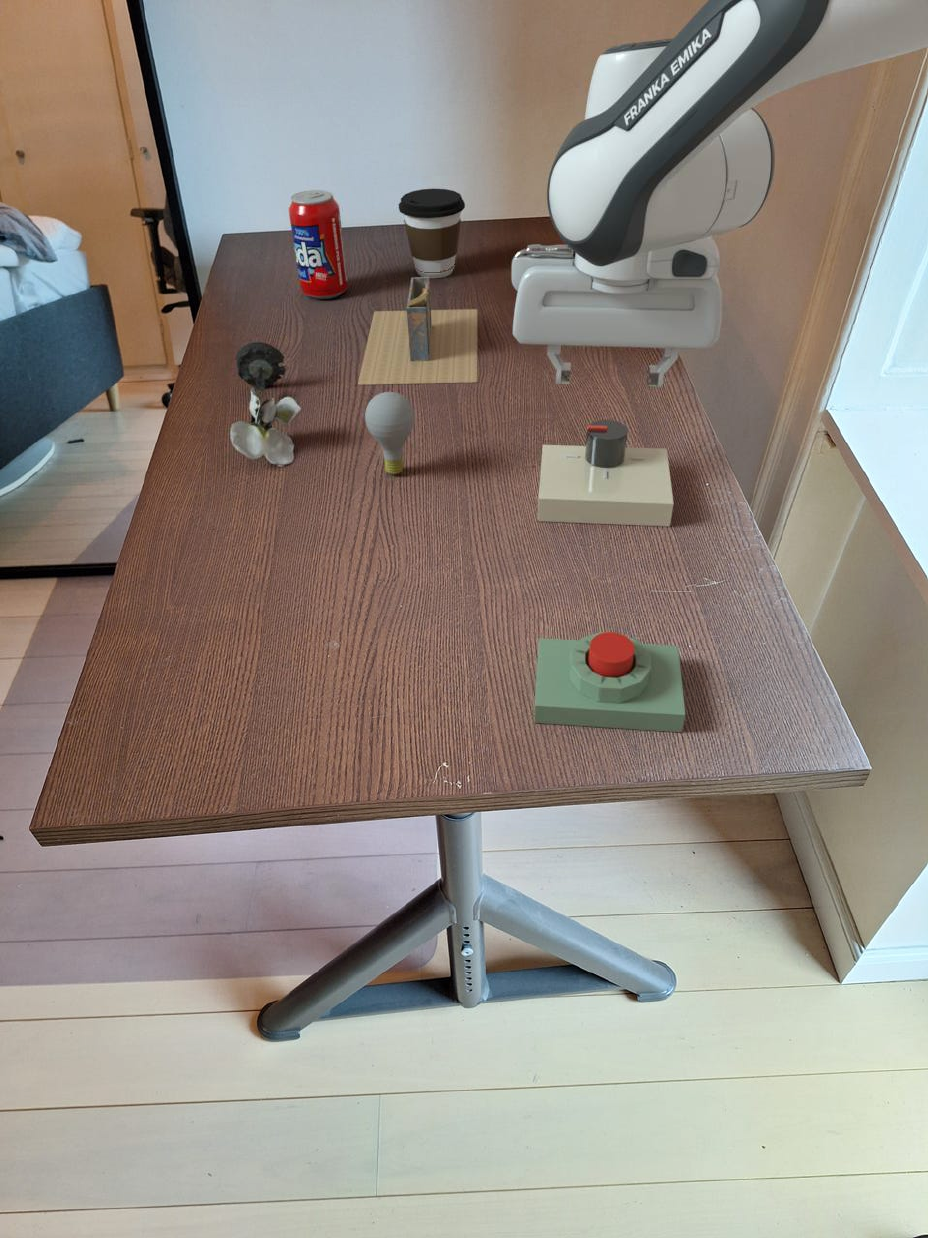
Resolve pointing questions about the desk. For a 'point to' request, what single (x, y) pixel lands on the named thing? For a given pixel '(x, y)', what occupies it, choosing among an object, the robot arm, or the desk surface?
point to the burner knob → (606, 443)
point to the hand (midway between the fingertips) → (608, 383)
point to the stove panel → (605, 488)
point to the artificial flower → (264, 407)
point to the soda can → (318, 244)
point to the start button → (611, 654)
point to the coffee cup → (432, 229)
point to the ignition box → (609, 688)
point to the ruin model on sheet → (421, 343)
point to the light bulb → (390, 426)
